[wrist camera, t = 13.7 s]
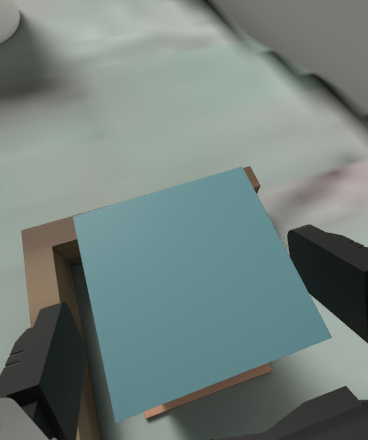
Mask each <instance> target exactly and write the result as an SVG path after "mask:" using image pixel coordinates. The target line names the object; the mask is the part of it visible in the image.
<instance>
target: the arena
mask: <svg viewBox="0 0 368 440" xmlns="http://www.w3.org/2000/svg"><path fill="white" fill-rule="evenodd" d="M243 169H244V171H245V173H246V175H247V177H248V179H249V181H250V182H251V184H252V186H253V188H254V190H255V192H256V194H257V193H258V190H259V188H260V184H259V182H258V180H257V178H256V176H255V175H254V173H253V171H252V169H251V167H250V166H249V167H245V168H243ZM117 204H118V203H117ZM110 206H111V205H110ZM107 207H108V206H107ZM103 208H104V207H103ZM100 209H101V208H100ZM96 210H97V209H96ZM93 211H94V210H93ZM89 212H91V211H89ZM85 213H87V212H85ZM82 214H84V213H82ZM78 215H81V214H78ZM75 216H77V215H75ZM73 217H74V216H71V217H68V218H64V219H61V220H57V221H53V222H50V223H46V224H43V225H39V226H36V227H32V228H29V229H25V230H22V231H21V232H22V242H23V252H24V262H25V272H26V282H27V292H28V302H29V311H30V321H31V328H32V327H33V326H34V324H35V321H36V319H37V316H38V314H39V311H40V309H42V308H45V307H48V306H51V305H55V304H58V303H61V302H66V303H67V305H68V306H69V308H70V311H71V313H72V316H73V318H74V320H75V323H76V325H77V327H78V330H79V332H80V335H81V337H82V339H83V342H84V336H83V330H82V324H81V318H80V312H79V306H78V301H77V295H76V289H75V283H74V277H73V271H72V266H71V265H75V264H78V263H81V262H82V259H81V254H80V249H79V244H78V239H77V235H76V230H75V225H74V220H73ZM84 346H85V342H84ZM85 353H86V347H85ZM270 371H272V369H271V367H270V364H269V363H266V364H264V365H261V366H259V367H256V368H253V369H251V370H248V371H246V372H243V373H241V374H238V375H236V376H233V377H231V378H228V379H226V380H223V381H220V382H218V383H215V384H213V385H210V386H208V387H205V388H203V389H200V390H198V391H195V392H193V393H190V394H187V395H185V396H182V397H180V398H177V399H175V400H172V401H170V402H167V403H165V404H162V405H159V406H157V407H154V408H152V409H149V410H147V411H144V416H145V418H148V417H151V416H153V415H156V414H159V413H161V412H164V411H167V410H169V409H172V408H175V407H177V406H180V405H183V404H185V403H188V402H191V401H193V400H196V399H199V398H201V397H204V396H207V395H209V394H212V393H215V392H217V391H220V390H222V389H225V388H228V387H230V386H233V385H236V384H238V383H241V382H244V381H246V380H249V379H252V378H254V377H257V376H260V375H262V374H265V373H268V372H270ZM76 440H101V435H100V429H99V423H98V418H97V412H96V406H95V400H94V394H93V388H92V382H91V377H90V371H89V365H88V359H87V353H86V360H85V368H84V377H83V385H82V394H81V402H80V411H79V419H78V428H77V436H76Z"/></svg>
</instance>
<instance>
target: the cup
mask: <svg viewBox="0 0 368 440" xmlns="http://www.w3.org/2000/svg"><path fill="white" fill-rule="evenodd" d="M19 21H20V12H19V9H18V6H17V3H16V1H15V0H0V44H1V43H2V42H4V41H6V40H7V39H8V38H9V37H11V36H12V35H13V34H14V32H15V31H16V29H17V28H18V25H19Z"/></svg>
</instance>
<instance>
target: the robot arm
mask: <svg viewBox="0 0 368 440" xmlns="http://www.w3.org/2000/svg"><path fill="white" fill-rule="evenodd" d="M287 238H288V246H289V253H290V258H291V260H292V262H293V264H294V266H295V268H296V270H297V272H298V274H299V276H300V277H301V279H302V281H303V283H304V285H305V287H306V289H307V291H308V293H309V294H311V295H312V296H313V297H314V298H315V299H316V300H318V301H319V302H320V303H321V304H322V305H323V306H325V307H326V308H327V309H328V310H329V311H331V312H332V313H333V314H334V315H335V316H336V317H338V318H339V319H340V320H341V321H342V322H343V323H345V324H346V325H347V326H348V327H349V328H350V329H352V330H353V331H354V332H355V333H356V334H357V335H359V336H360V337H361V338H362V339H363V340H365V341H366V342H367V343H368V247H364V245H361V244H359V243H357V242H354V241H353V240H351V239H349V238H347V237H345V236H343V235H338V234H333V233H328V232H327V233H326V232H324V231H322V230H320V229H318V228H316V227H314V226H312V225H310V224H308V225H305V226H302V227H299V228H296V229H292V230H290V231H289V232H288V235H287ZM85 360H86V353H85V346H84V342H83V339H82V337H81V335H80V332H79V330H78V327H77V325H76V323H75V320H74V318H73V316H72V313H71V311H70V308H69V306H68V305H67V303H66V302H61V303H58V304H55V305H51V306H48V307H45V308H42V309H40V311H39V314H38V316H37V319H36V321H35V324H34V326H33V327H32V328H29V329H27V330H26V331H25V332H24V333H23V334H22V335H21V336H20V338H19V339H18V340H17V341H16V342H15V344H14V347H13V349H12V351H11V353H10V357H9V358H8V360H7V362H6V364H5V366H6V367H5V368H4V369H3V371H2V373H1V375H0V440H76V436H77V428H78V419H79V411H80V402H81V394H82V385H83V377H84V368H85ZM211 440H368V400H358V399H357V398H356V397H355V396H354V394H353V393H352V392H351V391H350V390H349V389H348V388H347V387H346V386H344V387H342V388H339V389H337V390H334V391H332V392H329V393H327V394H324V395H322V396H319V397H317V398H314V399H312V400H309V401H307V402H304V403H303V404H301V405H300V406H299V407H297V408H296V409H295V410H294V411H292V412H291V413H290V414H288V415H287V416H286V417H285V418H283V419H282V420H281V421H279V422H278V423H277V424H276V425H274V426H273V427H272V428H270V429H269V430H268V431H266V432H264V433H260V434H252V435H244V436H236V437H228V438H220V439H211Z"/></svg>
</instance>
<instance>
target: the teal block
mask: <svg viewBox="0 0 368 440" xmlns="http://www.w3.org/2000/svg"><path fill="white" fill-rule="evenodd" d="M73 220H74V225H75V230H76V235H77V239H78V244H79V249H80V254H81V259H82V264H83V268H84V273H85V278H86V283H87V288H88V293H89V297H90V302H91V307H92V312H93V317H94V322H95V326H96V331H97V336H98V341H99V346H100V351H101V355H102V360H103V365H104V370H105V375H106V380H107V384H108V389H109V394H110V399H111V404H112V409H113V413H114V418H115V423H116V422H119V421H121V420H124V419H126V418H129V417H132V416H134V415H137V414H139V413H142V412H144V411H147V410H149V409H152V408H154V407H157V406H159V405H162V404H165V403H167V402H170V401H172V400H175V399H177V398H180V397H182V396H185V395H187V394H190V393H193V392H195V391H198V390H200V389H203V388H205V387H208V386H210V385H213V384H215V383H218V382H220V381H223V380H226V379H228V378H231V377H233V376H236V375H238V374H241V373H243V372H246V371H248V370H251V369H253V368H256V367H259V366H261V365H264V364H266V363H269V362H271V361H274V360H276V359H279V358H281V357H284V356H286V355H289V354H292V353H294V352H297V351H299V350H302V349H304V348H307V347H309V346H312V345H314V344H317V343H320V342H322V341H325V340H327V339H330V338H332V336H331V334H330V333H329V331H328V329H327V327H326V325H325V323H324V321H323V319H322V317H321V315H320V314H319V312H318V310H317V308H316V306H315V304H314V302H313V300H312V298H311V296H310V295H309V293H308V291H307V289H306V287H305V285H304V283H303V281H302V279H301V277H300V276H299V274H298V272H297V270H296V268H295V266H294V264H293V262H292V260H291V258H290V257H289V255H288V253H287V251H286V249H285V247H284V245H283V243H282V241H281V239H280V238H279V236H278V234H277V232H276V230H275V228H274V226H273V224H272V222H271V220H270V219H269V217H268V215H267V213H266V211H265V209H264V207H263V205H262V203H261V201H260V200H259V198H258V196H257V194H256V192H255V190H254V188H253V186H252V184H251V182H250V181H249V179H248V177H247V175H246V173H245V171H244V169H243V167H239V168H236V169H232V170H229V171H226V172H222V173H219V174H215V175H212V176H209V177H205V178H202V179H199V180H195V181H192V182H188V183H185V184H182V185H178V186H175V187H172V188H168V189H165V190H161V191H158V192H155V193H151V194H148V195H145V196H141V197H138V198H135V199H131V200H128V201H124V202H121V203H118V204H114V205H111V206H108V207H104V208H101V209H97V210H94V211H91V212H87V213H84V214H81V215H77V216H74V217H73Z"/></svg>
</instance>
